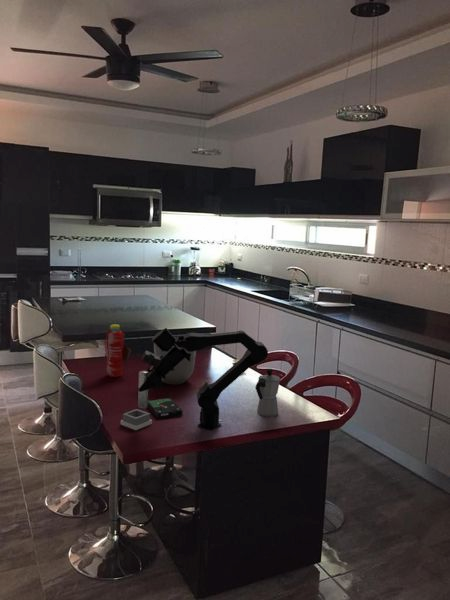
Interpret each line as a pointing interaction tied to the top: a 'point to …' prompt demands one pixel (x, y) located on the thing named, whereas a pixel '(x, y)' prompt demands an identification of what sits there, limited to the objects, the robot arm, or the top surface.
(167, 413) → the disk drive
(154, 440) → the top surface
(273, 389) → the coffee maker
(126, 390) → the top surface
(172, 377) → the planter
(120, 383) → the top surface
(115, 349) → the water bottle
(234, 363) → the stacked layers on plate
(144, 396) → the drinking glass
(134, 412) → the square open box
